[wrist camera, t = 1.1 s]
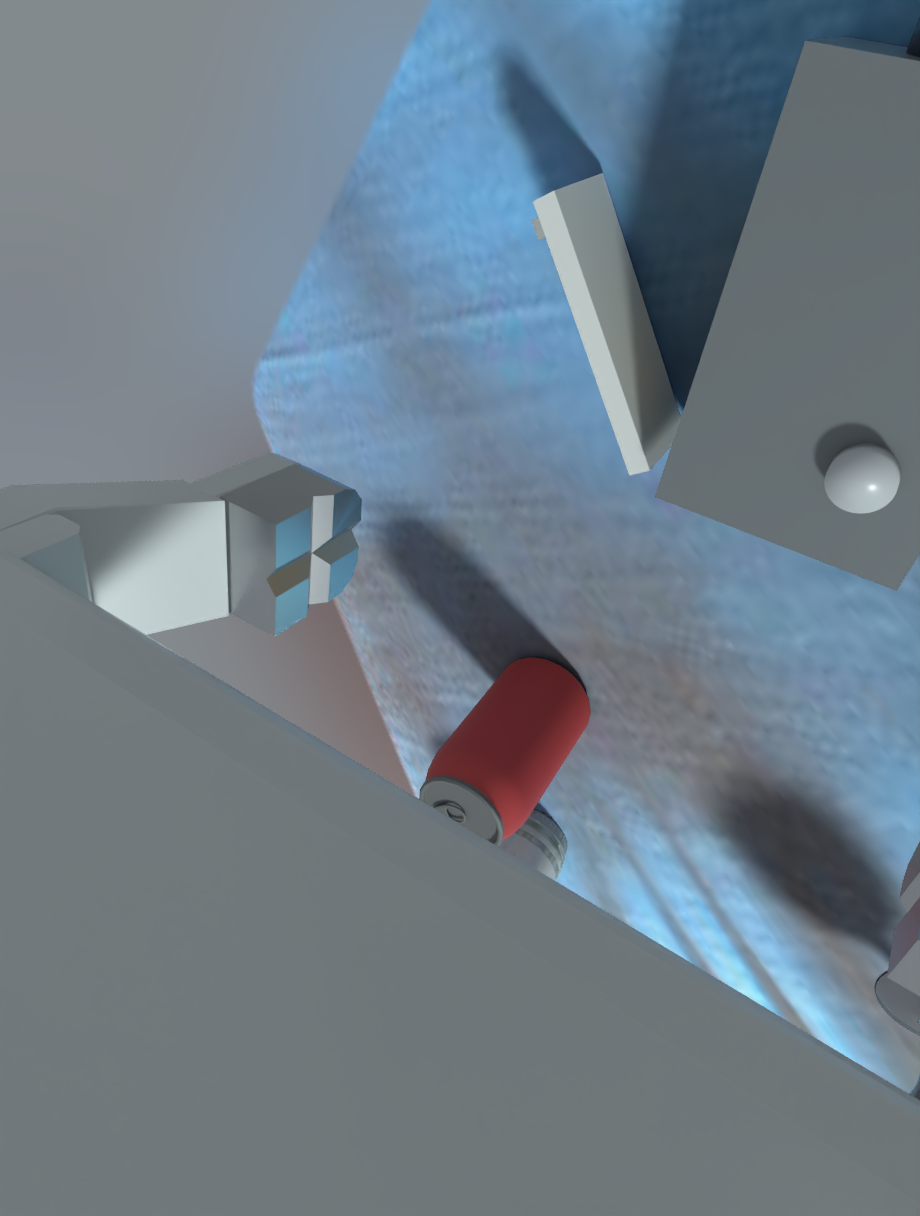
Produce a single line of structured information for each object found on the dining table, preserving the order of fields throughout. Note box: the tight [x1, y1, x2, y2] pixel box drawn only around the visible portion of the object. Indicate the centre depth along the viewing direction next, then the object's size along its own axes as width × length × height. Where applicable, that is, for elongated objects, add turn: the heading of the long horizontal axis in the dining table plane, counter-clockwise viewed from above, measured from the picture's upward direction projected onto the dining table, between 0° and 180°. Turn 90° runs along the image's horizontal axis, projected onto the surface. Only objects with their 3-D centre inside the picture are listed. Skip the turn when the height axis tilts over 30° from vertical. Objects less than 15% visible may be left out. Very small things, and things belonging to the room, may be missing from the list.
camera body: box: [655, 18, 920, 591], centre depth 29 cm, size 17×10×8 cm, turn 173°
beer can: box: [420, 657, 590, 846], centre depth 49 cm, size 7×7×12 cm
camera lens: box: [498, 809, 567, 881], centre depth 60 cm, size 6×6×8 cm
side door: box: [532, 173, 681, 475], centre depth 35 cm, size 12×2×5 cm, turn 28°
